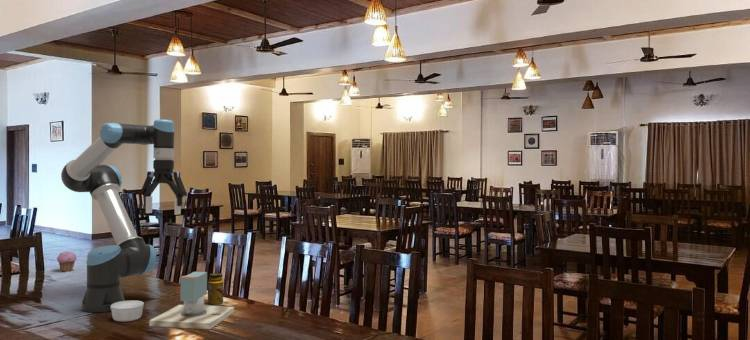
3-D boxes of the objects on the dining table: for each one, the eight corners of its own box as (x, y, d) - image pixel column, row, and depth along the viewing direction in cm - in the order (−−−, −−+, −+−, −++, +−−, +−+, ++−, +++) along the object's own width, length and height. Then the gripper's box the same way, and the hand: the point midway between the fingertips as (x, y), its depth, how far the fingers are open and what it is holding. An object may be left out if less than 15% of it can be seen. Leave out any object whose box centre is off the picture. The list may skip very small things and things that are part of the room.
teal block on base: (191, 307, 208) (191, 270, 208) (209, 307, 207) (209, 271, 207) (177, 315, 196) (177, 277, 196) (196, 316, 195) (197, 277, 195)
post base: (149, 326, 192) (149, 319, 192) (179, 309, 214) (179, 303, 214) (210, 329, 189) (210, 322, 189) (234, 312, 211) (234, 306, 211)
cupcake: (54, 271, 285) (54, 251, 285) (72, 268, 291) (72, 249, 291) (61, 273, 279) (61, 253, 279) (79, 271, 286) (79, 251, 286)
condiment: (226, 304, 223) (226, 274, 223) (205, 307, 218) (205, 276, 218) (220, 300, 229) (220, 271, 229) (200, 303, 224) (200, 273, 224)
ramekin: (122, 324, 194) (122, 309, 194) (103, 319, 200) (103, 304, 200) (150, 317, 203) (150, 303, 203) (131, 312, 209) (131, 298, 209)
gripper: (130, 158, 217) (130, 213, 217) (184, 159, 209) (183, 215, 209) (144, 159, 224) (144, 211, 224) (196, 159, 216) (196, 214, 216)
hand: (163, 213), depth 216 cm, fingers open, 13 cm apart
